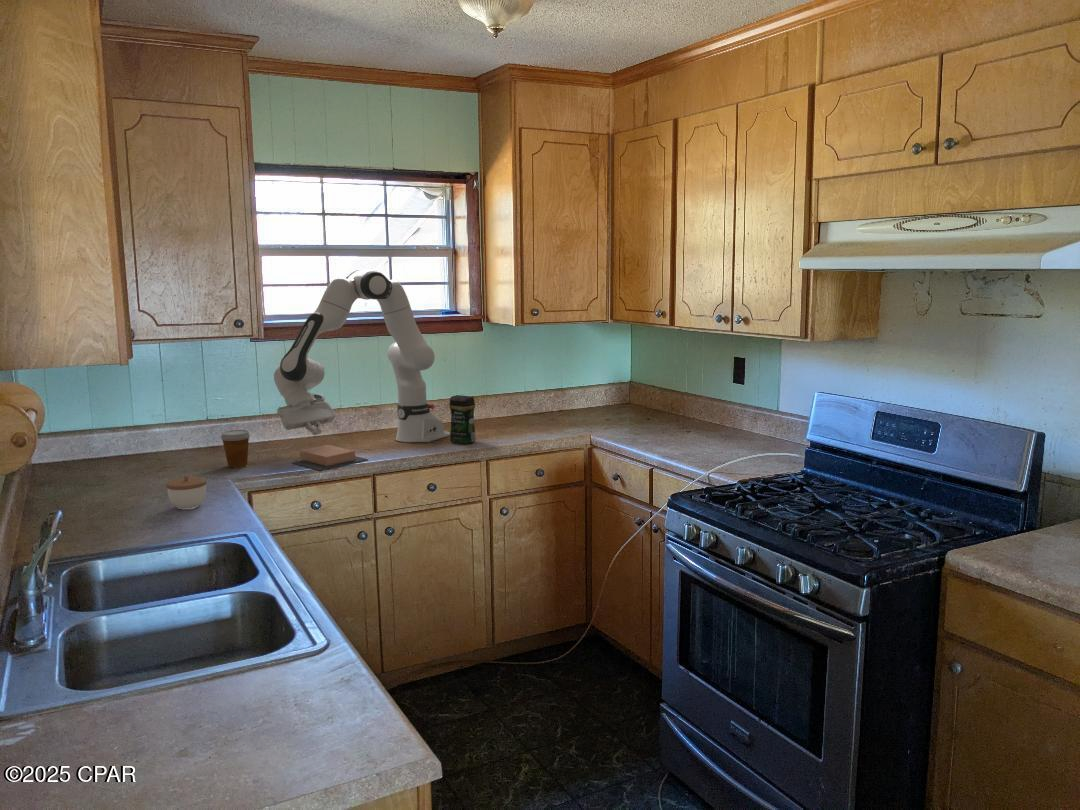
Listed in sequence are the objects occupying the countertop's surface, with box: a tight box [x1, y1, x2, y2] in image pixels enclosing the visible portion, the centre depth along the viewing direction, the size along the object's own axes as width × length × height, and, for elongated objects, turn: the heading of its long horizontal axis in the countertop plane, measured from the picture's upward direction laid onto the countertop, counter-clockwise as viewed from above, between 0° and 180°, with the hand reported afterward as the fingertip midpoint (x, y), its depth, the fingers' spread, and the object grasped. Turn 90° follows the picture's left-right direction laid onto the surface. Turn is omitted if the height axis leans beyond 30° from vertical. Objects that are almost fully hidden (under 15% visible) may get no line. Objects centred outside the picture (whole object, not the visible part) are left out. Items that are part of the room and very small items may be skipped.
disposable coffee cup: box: [220, 429, 251, 468], centre depth 289 cm, size 10×10×12 cm
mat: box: [291, 455, 369, 472], centre depth 295 cm, size 20×17×1 cm
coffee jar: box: [448, 394, 476, 445], centre depth 323 cm, size 10×8×19 cm
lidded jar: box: [165, 475, 207, 509], centre depth 241 cm, size 11×11×9 cm
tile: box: [299, 444, 356, 466], centre depth 296 cm, size 12×3×16 cm
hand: (317, 433), depth 298 cm, fingers closed
